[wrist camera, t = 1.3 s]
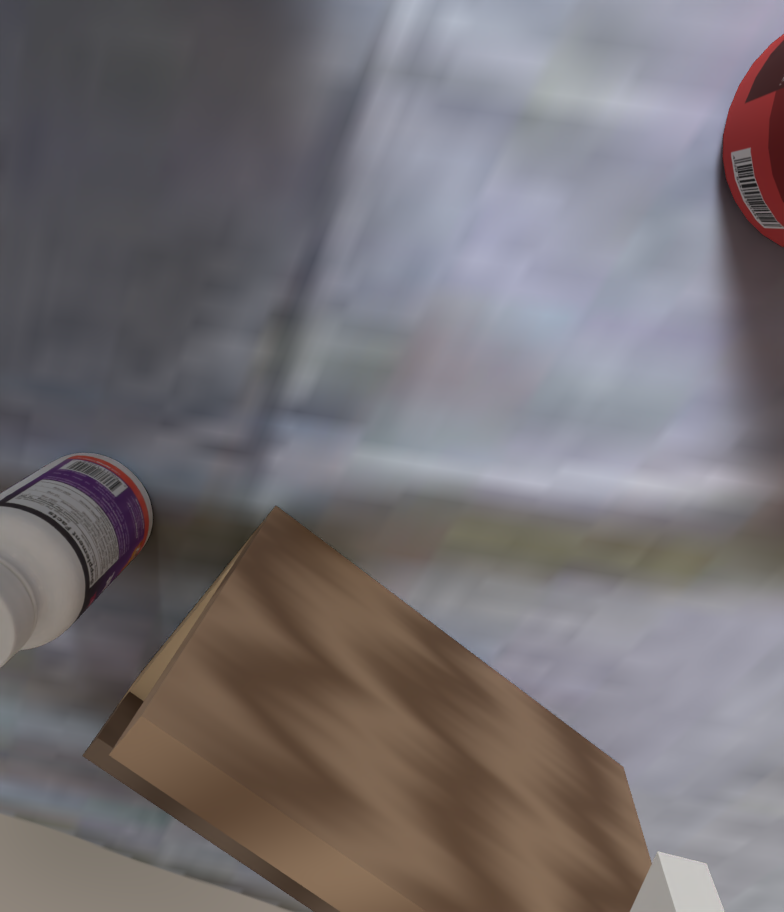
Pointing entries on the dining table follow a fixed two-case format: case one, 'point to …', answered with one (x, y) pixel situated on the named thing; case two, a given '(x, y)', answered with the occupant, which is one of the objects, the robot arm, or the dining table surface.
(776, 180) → the canned food
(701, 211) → the dining table surface
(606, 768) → the cleat board
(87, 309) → the dining table surface
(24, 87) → the dining table surface
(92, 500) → the pill bottle
